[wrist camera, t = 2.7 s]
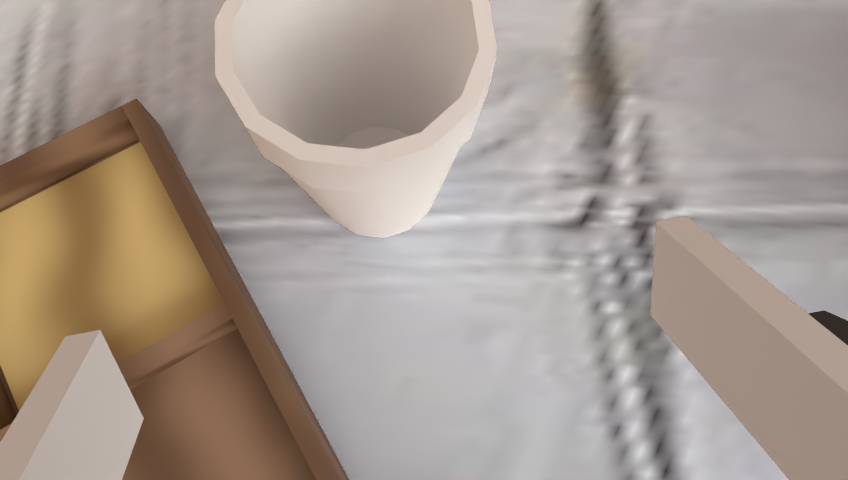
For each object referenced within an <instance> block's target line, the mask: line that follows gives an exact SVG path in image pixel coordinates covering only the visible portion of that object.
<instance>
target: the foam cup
mask: <svg viewBox="0 0 848 480" xmlns="http://www.w3.org/2000/svg"><path fill="white" fill-rule="evenodd" d="M214 22H215V77H216V78H217V80H218V82H219V83H220V85H221V87H222V89H223V90H224V92H225V94H226V95H227V97H228V99H229V100H230V102H231V104H232V105H233V107H234V109H235V110H236V112H237V114H238V116H239V117H240V119H241V121H242V122H243V124H244V126H245V127H246V129H247V131H248V132H249V134H250V136H251V137H252V139H253V141H254V142H255V144H256V146H257V147H258V149H259V151H260V153H261V154H262V156H263V157H264V158H265V159H267V160H269V161H270V162H272V163H274V164H275V165H277V166H278V167H280V168H282V169H283V170H284V171H285V172H286V173H287V174H288V175H289V176H290V177H291V178H292V179H293V180H294V181H295V182H296V183H297V184H298V185H299V186H300V187H301V188H302V189H303V190H304V191H305V192H306V193H307V194H308V195H309V196H310V197H311V198H312V199H313V200H314V201H315V202H316V203H317V204H318V205H319V206H320V207H321V208H322V209H323V210H324V211H325V212H326V213H327V214H328V215H329V216H330V217H331V218H332V219H334V220H335V221H336V222H337V223H339V224H340V225H342V226H344V227H345V228H347V229H349V230H350V231H352V232H353V233H355V234H357V235H361V236H370V237H379V238H386V237H389V236H392V235H395V234H398V233H401V232H404V231H408V230H410V229H411V228H412V227H413V226H414V225H415V224H416V223H417V222H418V221H420V220H421V219H422V218H423V217H424V216H425V215H426V214H427V213H428V212H429V210H430V209H431V207H432V205H433V203H434V200H435V198H436V196H437V194H438V192H439V190H440V188H441V186H442V184H443V182H444V180H445V178H446V176H447V174H448V172H449V170H450V168H451V166H452V164H453V161H454V159H455V157H456V155H457V153H458V151H459V149H460V147H461V146H463V145H464V144H465V143H466V142H467V141H468V140H469V139H470V138H471V137H472V134H473V131H474V128H475V126H476V123H477V120H478V118H479V115H480V112H481V109H482V107H483V104H484V101H485V98H486V96H487V93H488V90H489V87H490V82H491V78H492V73H493V69H494V64H495V60H496V55H497V46H496V40H495V34H494V28H493V22H492V16H491V10H490V3H489V0H225V2H224V4H223V6H222V7H221V9H220V11H219V13H218V15H217V17H216V19H215V21H214Z"/></svg>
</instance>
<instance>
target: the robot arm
mask: <svg viewBox="0 0 848 480" xmlns="http://www.w3.org/2000/svg"><path fill="white" fill-rule="evenodd" d="M650 315H651V316H652V317H653V318H654V319H655V321H656V322H657V323H658V324H659V325H660V326H661V328H662V329H663V330H664V331H665V332H666V334H667V335H668V336H669V337H670V338H671V340H672V341H673V342H674V343H675V344H676V346H677V347H678V348H679V349H680V350H681V351H682V353H683V354H684V355H685V356H686V357H687V359H688V360H689V361H690V362H691V363H692V365H693V366H694V367H695V368H696V369H697V371H698V372H699V373H700V374H701V375H702V376H703V378H704V379H705V380H706V381H707V382H708V384H709V385H710V386H711V387H712V388H713V390H714V391H715V392H716V393H717V394H718V396H719V397H720V398H721V399H722V400H723V401H724V403H725V404H726V405H727V406H728V407H729V409H730V410H731V411H732V412H733V413H734V415H735V416H736V417H737V418H738V419H739V421H740V422H741V423H742V424H743V425H744V426H745V428H746V429H747V430H748V431H749V432H750V434H751V435H752V436H753V437H754V438H755V440H756V441H757V442H758V443H759V444H760V446H761V447H762V448H763V449H764V450H765V451H766V453H767V454H768V455H769V456H770V457H771V459H772V460H773V461H774V462H775V463H776V465H777V466H778V467H779V468H780V469H781V471H782V472H783V473H784V474H785V475H786V476H787V478H788V479H789V480H848V321H847V320H844V319H842V318H840V317H838V316H835V315H833V314H831V313H828V312H826V311H819V312H814V313H809V314H808V313H807V312H805V311H804V310H803V309H802V308H800V307H799V306H798V305H797V304H795V303H794V302H793V301H792V300H790V299H789V298H788V297H787V296H785V295H784V294H783V293H782V292H780V291H779V290H778V289H777V288H775V287H774V286H773V285H772V284H770V283H769V282H768V281H767V280H765V279H764V278H763V277H762V276H761V275H759V274H758V273H757V272H756V271H754V270H753V269H752V268H751V267H749V266H748V265H747V264H746V263H744V262H743V261H742V260H741V259H739V258H738V257H737V256H736V255H734V254H733V253H732V252H731V251H729V250H728V249H727V248H726V247H724V246H723V245H722V244H721V243H719V242H718V241H717V240H716V239H714V238H713V237H712V236H711V235H710V234H708V233H707V232H706V231H705V230H703V229H702V228H701V227H700V226H698V225H697V224H696V223H695V222H693V221H692V220H691V219H690V218H688V217H687V216H684V217H679V218H674V219H669V220H663V221H658V222H656V234H655V250H654V266H653V282H652V298H651V314H650ZM143 419H144V418H143V416H142V414H141V412H140V410H139V408H138V406H137V404H136V402H135V399H134V397H133V395H132V393H131V391H130V389H129V387H128V385H127V383H126V381H125V379H124V377H123V375H122V373H121V371H120V369H119V367H118V365H117V363H116V361H115V359H114V357H113V355H112V353H111V351H110V349H109V347H108V344H107V342H106V340H105V338H104V336H103V334H102V332H101V330H96V331H91V332H86V333H81V334H75V335H70V336H65V338H64V340H63V341H62V343H61V344H60V346H59V348H58V349H57V351H56V353H55V354H54V356H53V357H52V359H51V361H50V362H49V364H48V366H47V367H46V369H45V370H44V372H43V374H42V375H41V377H40V379H39V380H38V382H37V383H36V385H35V387H34V388H33V390H32V392H31V393H30V395H29V396H28V398H27V400H26V401H25V403H24V405H23V406H22V408H21V409H20V411H19V413H18V414H17V416H16V418H15V419H14V421H13V422H12V424H11V426H10V427H9V429H8V431H7V432H6V434H5V435H4V437H3V439H2V440H1V442H0V480H122V478H123V475H124V473H125V470H126V467H127V464H128V461H129V459H130V456H131V453H132V450H133V447H134V444H135V442H136V439H137V436H138V433H139V430H140V428H141V425H142V422H143Z"/></svg>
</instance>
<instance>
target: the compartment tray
mask: <svg viewBox="0 0 848 480" xmlns="http://www.w3.org/2000/svg"><path fill="white" fill-rule="evenodd" d="M96 330H101V332H102V334H103V336H104V338H105V340H106V342H107V344H108V347H109V349H110V351H111V353H112V355H113V357H114V359H115V361H116V363H117V365H118V367H119V369H120V371H121V373H122V375H123V377H124V379H125V381H126V383H127V385H128V387H129V389H130V391H131V393H132V395H133V397H134V399H135V402H136V404H137V406H138V408H139V410H140V412H141V414H142V416H143V418H144V419H143V422H142V425H141V428H140V430H139V433H138V436H137V439H136V442H135V444H134V447H133V450H132V453H131V456H130V459H129V461H128V464H127V467H126V470H125V473H124V475H123V478H122V480H349V479H348V477H347V475H346V473H345V471H344V470H343V468H342V466H341V464H340V462H339V460H338V458H337V456H336V455H335V453H334V451H333V449H332V447H331V445H330V443H329V441H328V440H327V438H326V436H325V434H324V432H323V430H322V428H321V426H320V425H319V423H318V421H317V419H316V417H315V415H314V413H313V411H312V410H311V408H310V406H309V404H308V402H307V400H306V398H305V397H304V395H303V393H302V391H301V389H300V387H299V385H298V383H297V382H296V380H295V378H294V376H293V374H292V372H291V370H290V368H289V367H288V365H287V363H286V361H285V359H284V357H283V355H282V353H281V352H280V350H279V348H278V346H277V344H276V342H275V340H274V338H273V337H272V335H271V333H270V331H269V329H268V327H267V325H266V323H265V322H264V320H263V318H262V316H261V314H260V312H259V310H258V308H257V307H256V305H255V303H254V301H253V299H252V297H251V295H250V294H249V292H248V290H247V288H246V286H245V284H244V282H243V280H242V279H241V277H240V275H239V273H238V271H237V269H236V267H235V265H234V264H233V262H232V260H231V258H230V256H229V254H228V252H227V250H226V249H225V247H224V245H223V243H222V241H221V239H220V237H219V235H218V234H217V232H216V230H215V228H214V226H213V224H212V222H211V220H210V219H209V217H208V215H207V213H206V211H205V209H204V207H203V206H202V204H201V202H200V200H199V198H198V196H197V194H196V192H195V191H194V189H193V187H192V185H191V183H190V181H189V179H188V177H187V176H186V174H185V172H184V170H183V168H182V166H181V164H180V162H179V161H178V159H177V157H176V155H175V153H174V151H173V149H172V147H171V146H170V144H169V142H168V140H167V138H166V136H165V134H164V132H163V131H162V129H161V127H160V125H159V124H158V123H157V121H156V120H155V119H154V118H153V117H152V116H151V115H150V113H149V112H148V111H147V110H146V109H145V108H144V107H143V106H142V104H141V103H140V102H139V101H138V100H137V99H135V100H133V101H131V102H129V103H127V104H125V105H123V106H121V107H119V108H117V109H115V110H113V111H111V112H109V113H107V114H105V115H103V116H101V117H99V118H97V119H95V120H93V121H91V122H89V123H87V124H84V125H82V126H80V127H78V128H76V129H74V130H72V131H70V132H68V133H66V134H64V135H62V136H60V137H58V138H56V139H54V140H52V141H50V142H48V143H46V144H44V145H42V146H40V147H38V148H36V149H34V150H32V151H30V152H28V153H26V154H24V155H22V156H20V157H18V158H16V159H13V160H11V161H9V162H7V163H5V164H3V165H1V166H0V442H1V440H2V439H3V437H4V435H5V434H6V432H7V431H8V429H9V427H10V426H11V424H12V422H13V421H14V419H15V418H16V416H17V414H18V413H19V411H20V409H21V408H22V406H23V405H24V403H25V401H26V400H27V398H28V396H29V395H30V393H31V392H32V390H33V388H34V387H35V385H36V383H37V382H38V380H39V379H40V377H41V375H42V374H43V372H44V370H45V369H46V367H47V366H48V364H49V362H50V361H51V359H52V357H53V356H54V354H55V353H56V351H57V349H58V348H59V346H60V344H61V343H62V341H63V340H64V338H65V336H70V335H75V334H81V333H86V332H91V331H96Z"/></svg>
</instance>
